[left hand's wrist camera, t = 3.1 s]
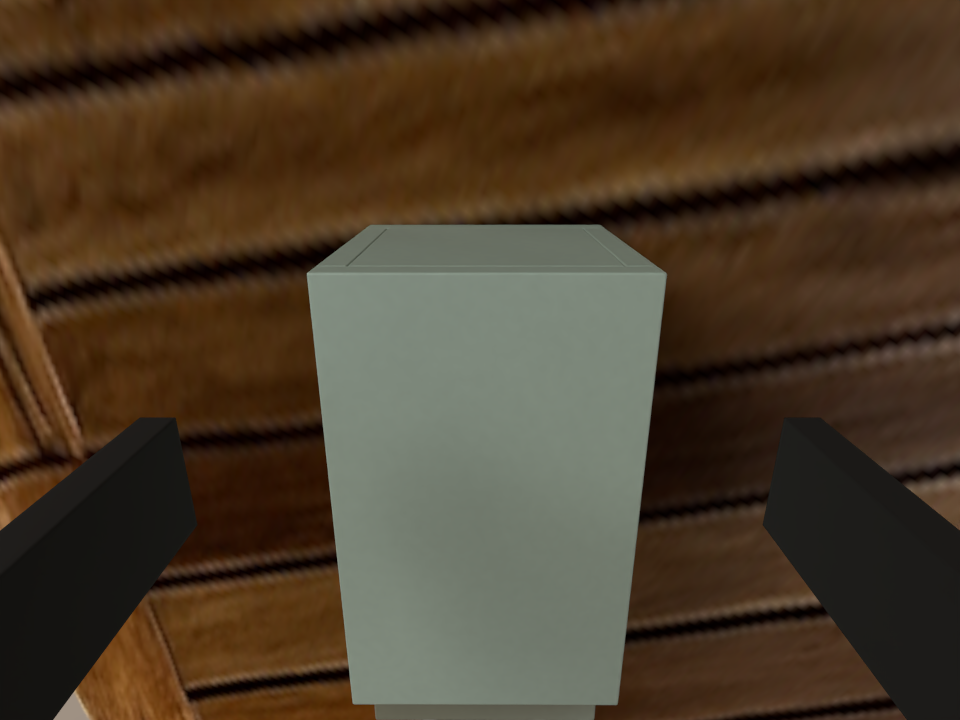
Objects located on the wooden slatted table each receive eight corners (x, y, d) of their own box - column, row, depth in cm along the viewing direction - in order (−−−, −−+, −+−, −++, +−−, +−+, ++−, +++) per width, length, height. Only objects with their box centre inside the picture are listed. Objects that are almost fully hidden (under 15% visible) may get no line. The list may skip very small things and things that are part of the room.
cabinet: (578, 539, 32) (618, 706, 23) (390, 539, 32) (352, 705, 23) (600, 224, 26) (667, 273, 17) (369, 224, 26) (305, 272, 17)
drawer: (562, 668, 34) (584, 819, 27) (406, 668, 34) (384, 818, 27) (586, 303, 26) (628, 369, 19) (383, 303, 26) (344, 369, 19)
